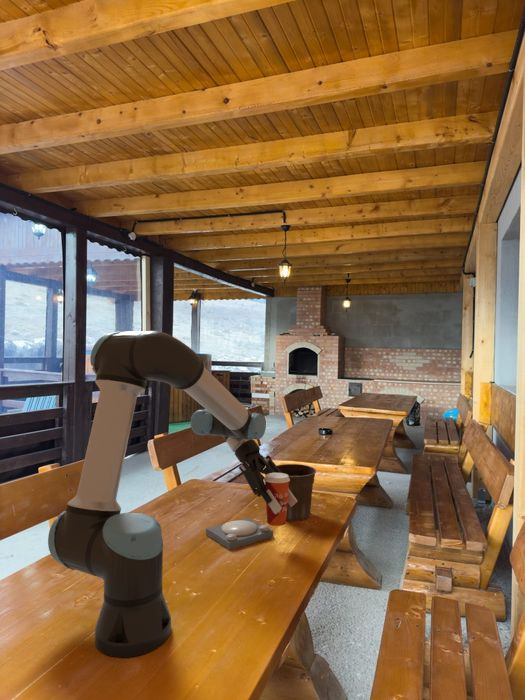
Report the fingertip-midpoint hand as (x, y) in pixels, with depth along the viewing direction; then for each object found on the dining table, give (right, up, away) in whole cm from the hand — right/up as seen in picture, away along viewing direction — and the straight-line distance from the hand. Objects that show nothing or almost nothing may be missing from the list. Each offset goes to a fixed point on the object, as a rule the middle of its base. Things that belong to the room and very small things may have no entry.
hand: (286, 507), depth 138 cm
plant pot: (+4, -12, +27) cm, 30 cm away
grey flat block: (-14, -12, +10) cm, 21 cm away
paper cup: (-3, -5, +2) cm, 6 cm away
